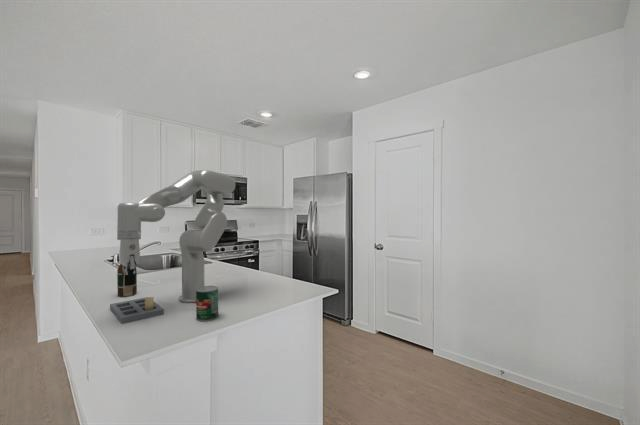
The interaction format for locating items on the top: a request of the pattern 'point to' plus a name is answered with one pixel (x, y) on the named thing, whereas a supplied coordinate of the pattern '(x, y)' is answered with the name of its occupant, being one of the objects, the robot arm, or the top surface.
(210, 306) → the canned tomato
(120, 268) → the beer bottle
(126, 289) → the beech pin
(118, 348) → the top surface
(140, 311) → the peg board
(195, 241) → the robot arm
